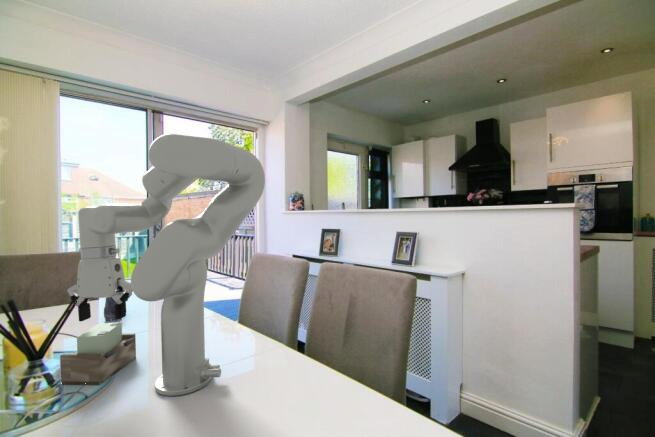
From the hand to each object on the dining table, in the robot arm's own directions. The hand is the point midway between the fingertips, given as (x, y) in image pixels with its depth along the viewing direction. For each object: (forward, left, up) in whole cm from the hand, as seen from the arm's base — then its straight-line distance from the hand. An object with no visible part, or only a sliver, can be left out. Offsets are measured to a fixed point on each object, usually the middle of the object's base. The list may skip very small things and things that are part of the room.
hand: (102, 318), depth 84 cm
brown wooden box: (+1, 0, -14) cm, 14 cm away
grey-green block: (+1, 0, -8) cm, 8 cm away
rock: (+29, -43, -14) cm, 53 cm away
